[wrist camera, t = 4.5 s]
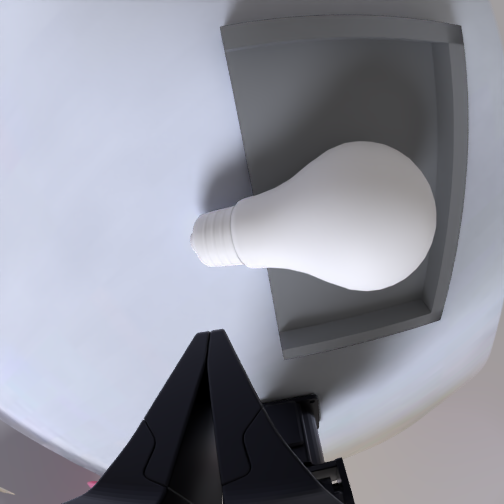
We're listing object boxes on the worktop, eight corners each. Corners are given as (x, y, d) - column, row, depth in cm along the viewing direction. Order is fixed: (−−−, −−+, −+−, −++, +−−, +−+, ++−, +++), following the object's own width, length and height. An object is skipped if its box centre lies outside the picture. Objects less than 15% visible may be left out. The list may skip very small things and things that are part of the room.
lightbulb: (135, 243, 11) (463, 190, 8) (184, 157, 15) (411, 109, 12) (206, 331, 15) (444, 309, 12) (230, 242, 19) (418, 214, 16)
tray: (427, 301, 21) (440, 319, 19) (279, 337, 21) (283, 360, 19) (438, 27, 11) (460, 25, 9) (221, 33, 11) (220, 26, 10)
